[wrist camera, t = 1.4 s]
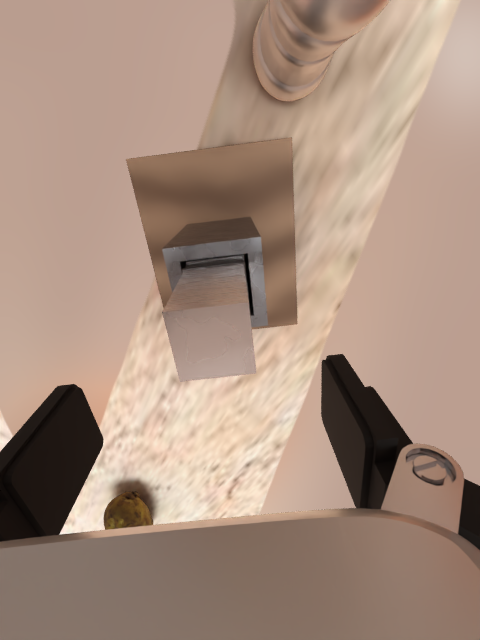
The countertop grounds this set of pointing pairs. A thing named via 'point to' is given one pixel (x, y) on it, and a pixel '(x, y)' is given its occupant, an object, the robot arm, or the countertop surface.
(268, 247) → the stand
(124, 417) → the countertop surface
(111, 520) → the potato
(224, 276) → the steel post
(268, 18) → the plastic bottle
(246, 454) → the countertop surface
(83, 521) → the countertop surface
